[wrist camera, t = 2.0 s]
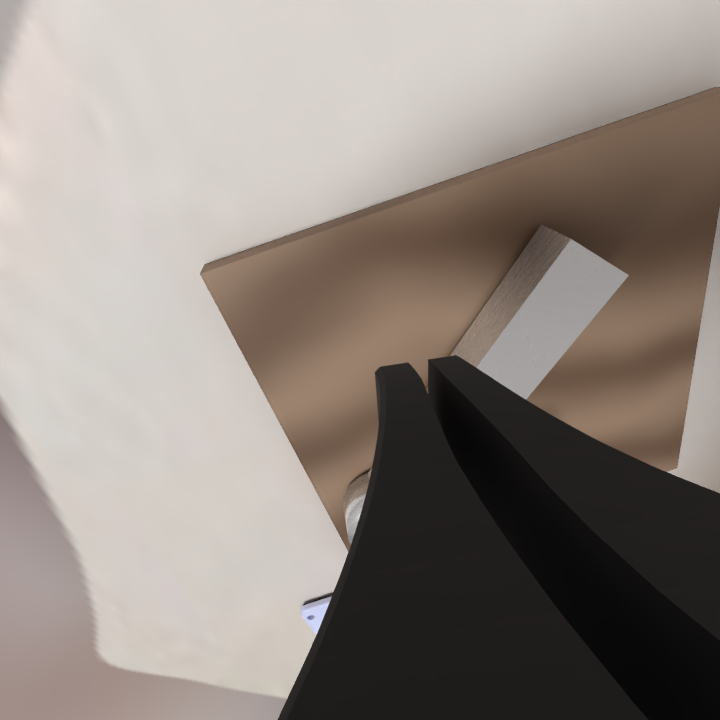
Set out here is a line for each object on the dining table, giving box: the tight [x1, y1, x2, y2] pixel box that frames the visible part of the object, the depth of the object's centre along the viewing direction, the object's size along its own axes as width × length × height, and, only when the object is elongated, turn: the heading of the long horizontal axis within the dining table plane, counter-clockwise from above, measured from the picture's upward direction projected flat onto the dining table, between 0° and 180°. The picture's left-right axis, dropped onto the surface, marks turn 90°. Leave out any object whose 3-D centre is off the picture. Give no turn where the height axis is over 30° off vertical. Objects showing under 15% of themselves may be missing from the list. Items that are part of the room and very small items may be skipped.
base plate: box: [200, 87, 720, 552], centre depth 21 cm, size 20×20×1 cm
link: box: [343, 224, 629, 544], centre depth 19 cm, size 17×4×2 cm, turn 152°
